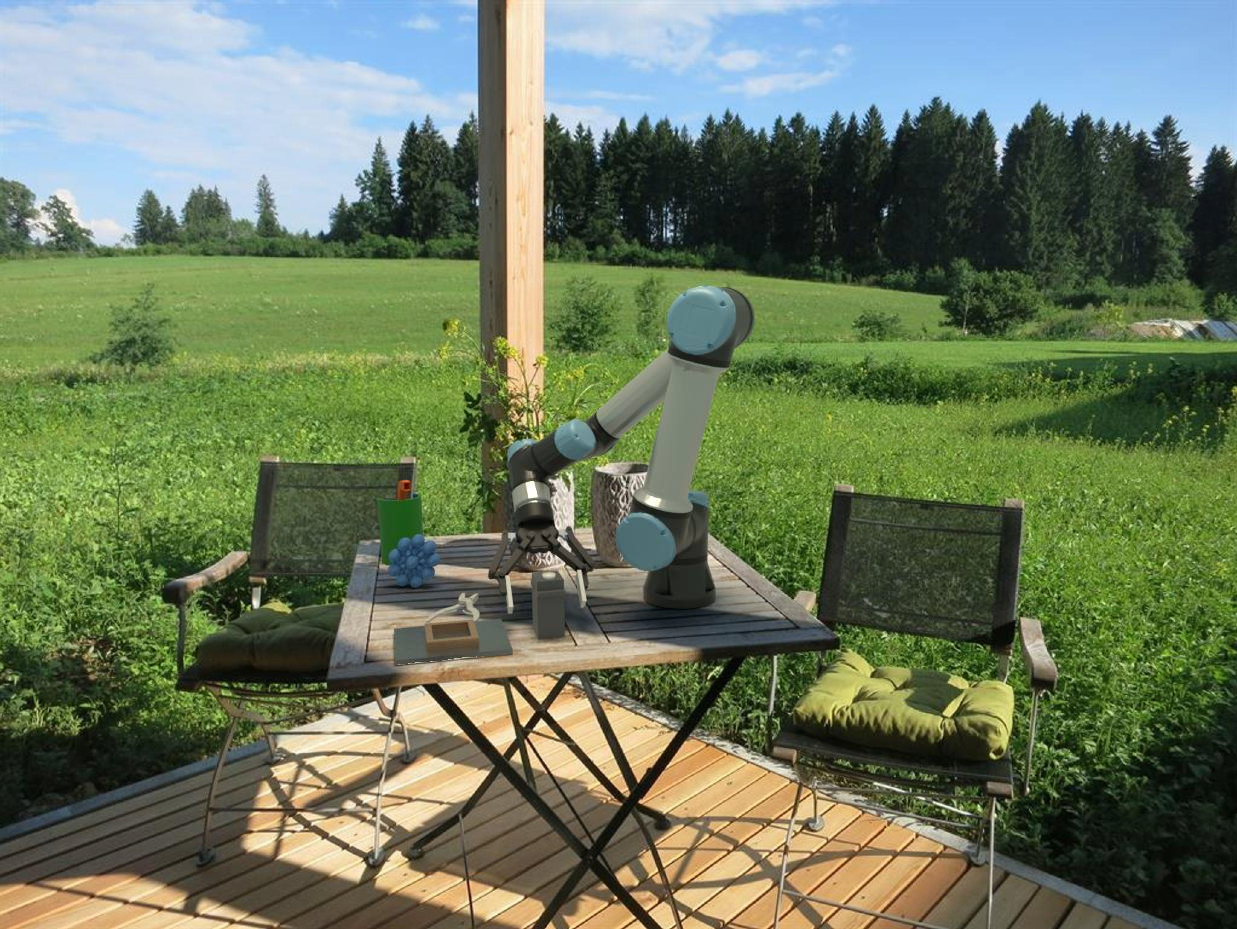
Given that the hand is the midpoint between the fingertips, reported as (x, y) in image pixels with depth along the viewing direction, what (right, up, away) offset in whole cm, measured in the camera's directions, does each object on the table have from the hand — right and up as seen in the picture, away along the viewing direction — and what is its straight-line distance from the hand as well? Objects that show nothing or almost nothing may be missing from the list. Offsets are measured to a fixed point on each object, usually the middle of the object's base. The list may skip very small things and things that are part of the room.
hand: (547, 607), depth 165 cm
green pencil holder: (-39, +3, +52) cm, 65 cm away
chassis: (-17, -6, -3) cm, 18 cm away
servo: (0, -5, +2) cm, 6 cm away
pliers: (-19, -4, +15) cm, 24 cm away
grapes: (-31, -1, +31) cm, 44 cm away
